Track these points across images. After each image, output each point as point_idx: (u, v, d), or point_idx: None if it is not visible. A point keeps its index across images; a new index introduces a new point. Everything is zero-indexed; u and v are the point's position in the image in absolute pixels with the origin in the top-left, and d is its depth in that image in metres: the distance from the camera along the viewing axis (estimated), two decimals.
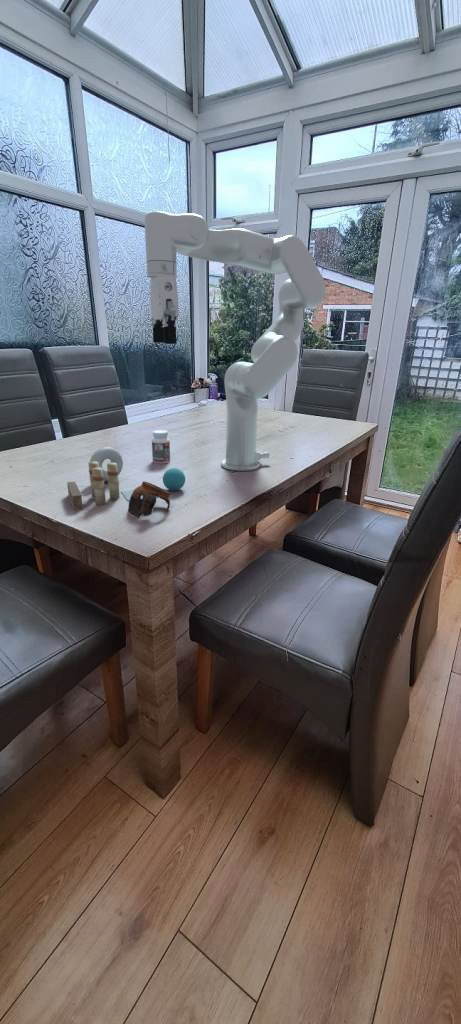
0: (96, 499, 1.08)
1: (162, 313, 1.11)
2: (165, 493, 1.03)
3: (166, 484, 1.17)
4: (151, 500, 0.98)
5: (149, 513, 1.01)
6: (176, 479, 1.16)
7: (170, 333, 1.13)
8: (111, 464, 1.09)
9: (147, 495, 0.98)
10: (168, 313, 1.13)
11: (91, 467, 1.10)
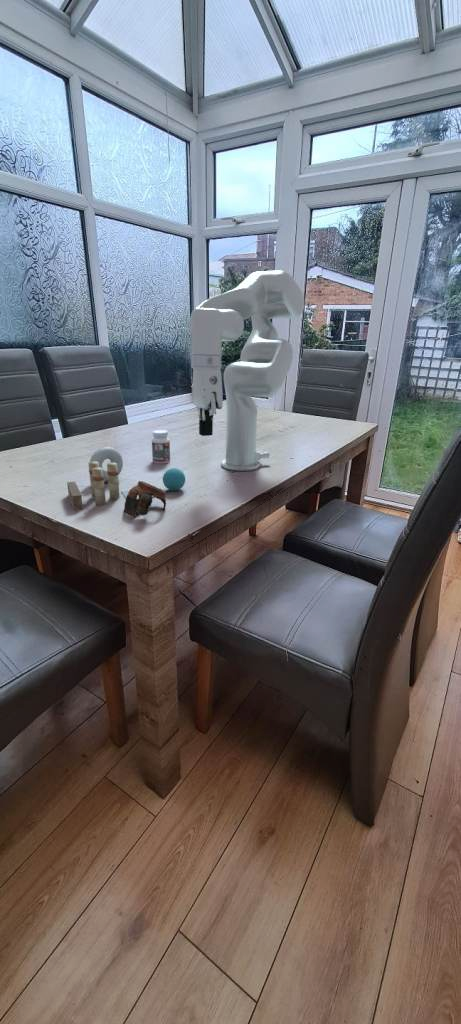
0: (96, 499, 1.08)
1: (206, 405, 1.10)
2: (161, 493, 1.03)
3: (166, 484, 1.17)
4: (147, 500, 0.98)
5: (145, 513, 1.01)
6: (176, 479, 1.16)
7: (207, 426, 1.15)
8: (111, 464, 1.09)
9: (143, 495, 0.99)
10: None
11: (91, 467, 1.10)
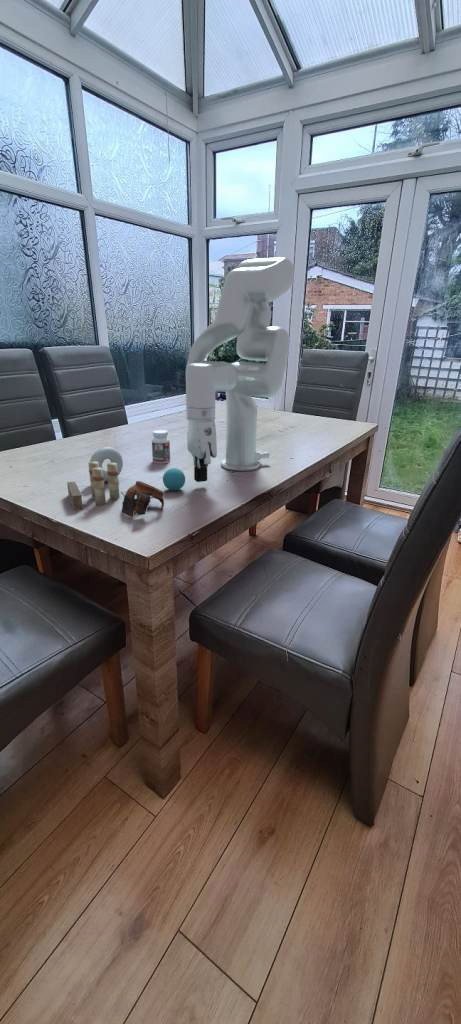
0: (96, 499, 1.08)
1: (201, 455, 1.14)
2: (159, 492, 1.03)
3: (166, 484, 1.17)
4: (145, 499, 0.98)
5: (143, 512, 1.01)
6: (176, 479, 1.16)
7: (202, 473, 1.19)
8: (111, 464, 1.09)
9: (141, 494, 0.99)
10: None
11: (91, 467, 1.10)
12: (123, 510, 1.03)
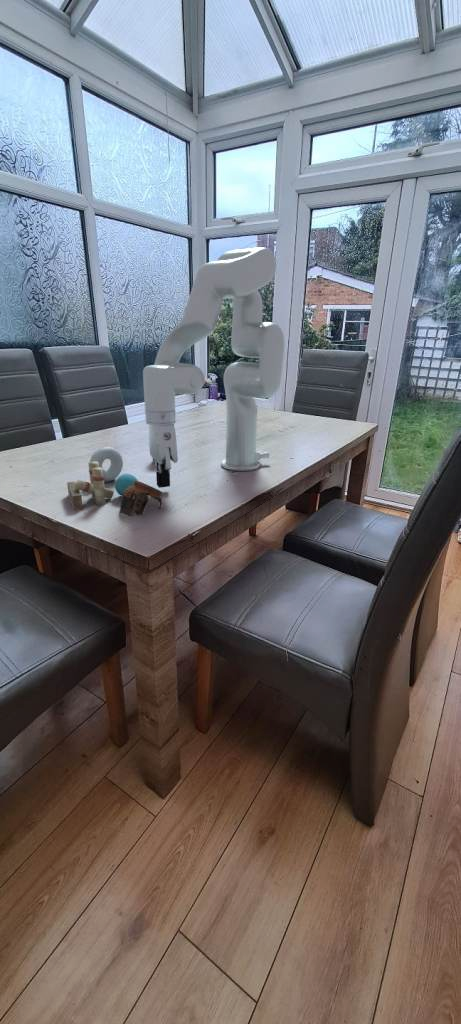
0: (96, 499, 1.08)
1: (161, 461, 1.10)
2: (157, 492, 1.03)
3: (133, 478, 1.12)
4: (143, 499, 0.99)
5: (141, 512, 1.01)
6: None
7: (164, 479, 1.16)
8: (76, 485, 1.07)
9: (139, 494, 0.99)
10: None
11: (91, 467, 1.10)
12: (121, 510, 1.03)
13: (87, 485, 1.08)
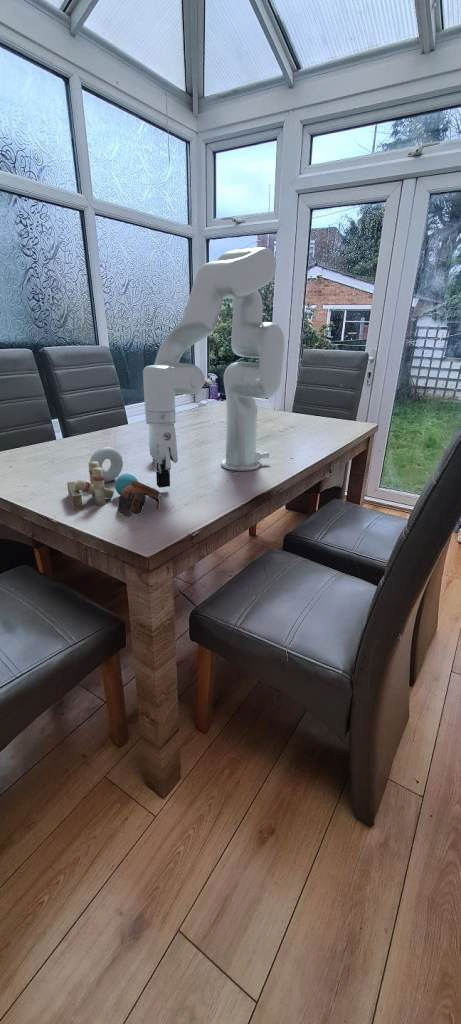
0: (96, 499, 1.08)
1: (161, 461, 1.10)
2: (155, 492, 1.03)
3: (133, 478, 1.12)
4: (141, 499, 0.99)
5: (139, 512, 1.01)
6: None
7: (164, 479, 1.16)
8: (77, 485, 1.07)
9: (137, 494, 0.99)
10: None
11: (91, 467, 1.10)
12: (119, 510, 1.03)
13: (87, 485, 1.08)
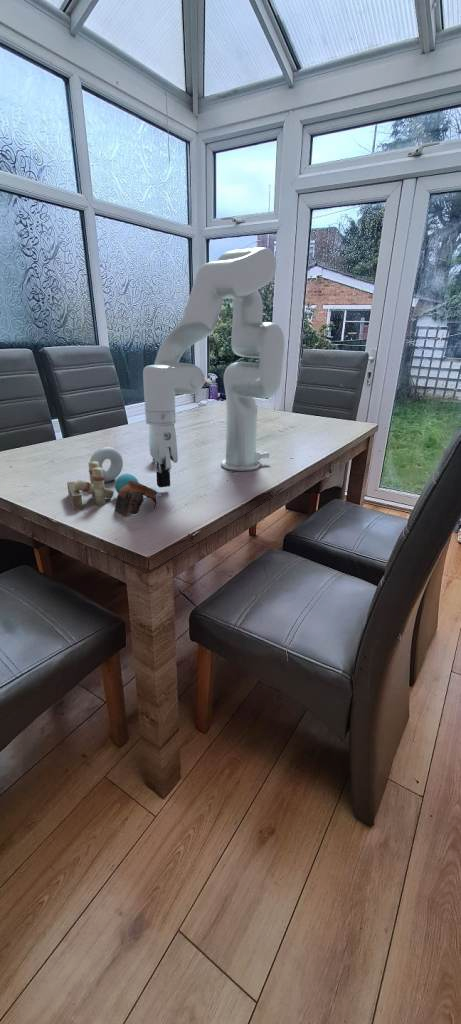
0: (96, 499, 1.08)
1: (161, 460, 1.10)
2: (152, 492, 1.03)
3: (133, 478, 1.12)
4: (138, 499, 0.99)
5: (136, 512, 1.01)
6: None
7: (164, 478, 1.16)
8: (77, 485, 1.07)
9: (134, 494, 0.99)
10: None
11: (91, 467, 1.10)
12: (116, 510, 1.03)
13: (87, 485, 1.08)
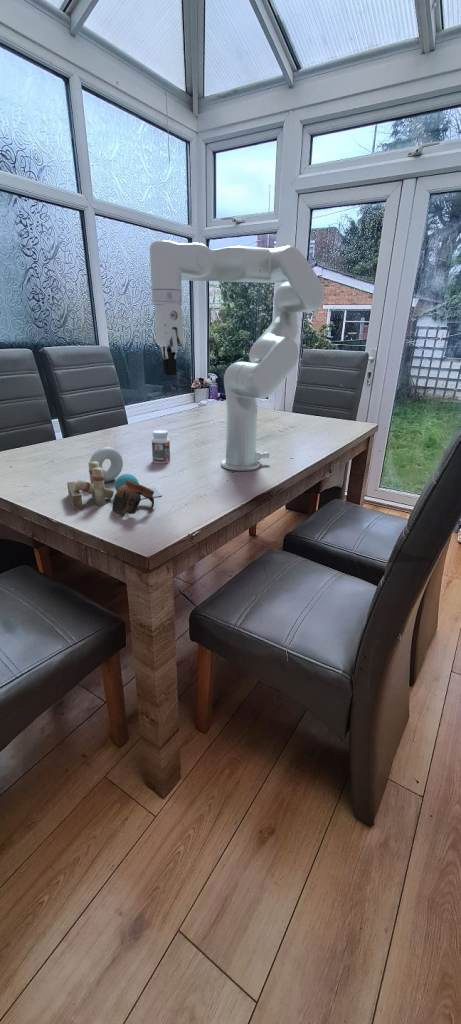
0: (96, 499, 1.08)
1: (167, 341, 1.10)
2: (149, 491, 1.04)
3: (133, 478, 1.12)
4: (136, 498, 0.99)
5: (134, 511, 1.01)
6: None
7: (170, 365, 1.16)
8: (77, 485, 1.07)
9: (131, 494, 0.99)
10: None
11: (91, 467, 1.10)
12: (113, 509, 1.03)
13: (87, 485, 1.08)
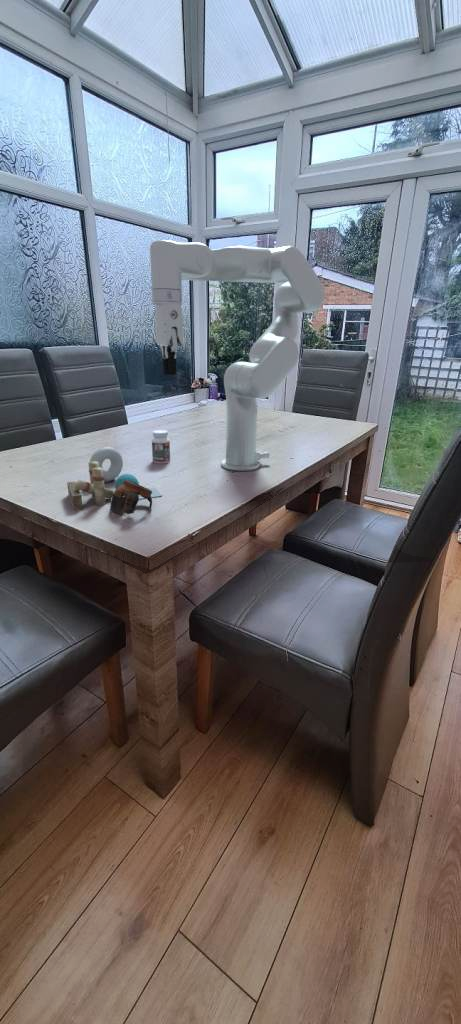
0: (96, 499, 1.08)
1: (167, 341, 1.10)
2: (147, 491, 1.04)
3: (133, 478, 1.12)
4: (134, 498, 0.99)
5: (132, 511, 1.02)
6: None
7: (170, 365, 1.16)
8: (77, 485, 1.07)
9: (129, 493, 0.99)
10: None
11: (91, 467, 1.10)
12: (111, 509, 1.03)
13: (87, 485, 1.08)
